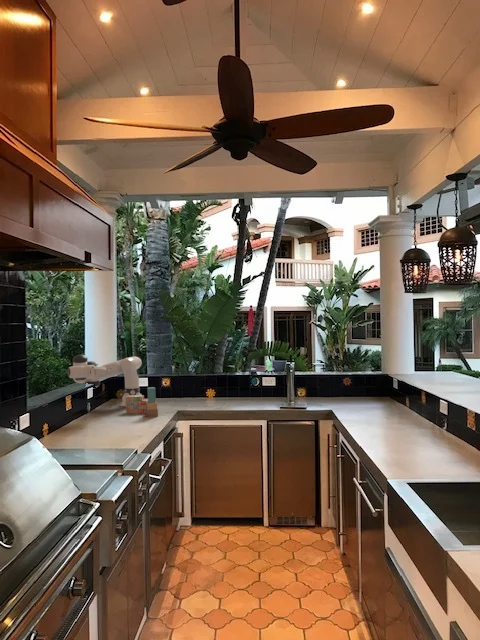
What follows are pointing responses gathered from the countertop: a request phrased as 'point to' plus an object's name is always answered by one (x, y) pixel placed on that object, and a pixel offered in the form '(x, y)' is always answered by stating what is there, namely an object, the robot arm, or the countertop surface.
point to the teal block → (151, 395)
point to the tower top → (151, 406)
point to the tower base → (151, 413)
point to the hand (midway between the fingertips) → (112, 370)
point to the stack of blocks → (135, 404)
